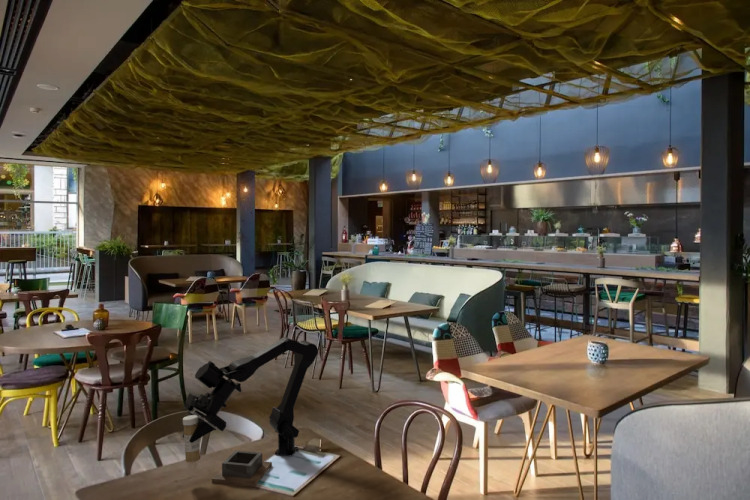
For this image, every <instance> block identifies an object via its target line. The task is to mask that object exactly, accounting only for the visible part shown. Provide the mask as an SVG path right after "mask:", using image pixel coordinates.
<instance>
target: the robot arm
mask: <svg viewBox="0 0 750 500" xmlns="http://www.w3.org/2000/svg"><path fill="white" fill-rule="evenodd" d="M288 351H289V352H293V355H294V356H293V359H294V363H293V367H292V370H291V373H290V376H289V379H288V382H287V384H286V387H285V390H284V393H283V396H282V400H281V402H280V404H279V405H278V406H277V407H275V406H273V407H272V409H271V413H270V415H269V417H268V419H269V425H270V427H271V428H272V430H273V429H274V432H276V433H277V449H276V451H274V455H278V456H288V455H291V456H294V454H295V453H296V452H297V450H298V449H299V446H295V445H296V443H295V441H296V440H295V439H296V438H297V437H298V436H299V433H300V430H299V429H298V428H297V427H295V426H294V419H295V412H294V408H295V405H296V402H297V400H298V396H299V393H300V390H301V388H302V385H303V383H304V379H305V376H306V374H307V370H308V369H309V367H311V366H312V365H313V363H314V362H315V360H316V358H317V356H318V353H319V348H318V347H317V345H316V344H314V343H312V342H310V341H307V340H300V341H298V340H295V339H291V338H289V337H286V336H284V337H281V338H280V339H279V340H277V341H276V342H274V343H272V344H271V345H269V346H267V347H264V348H263V349H261V350H259V351H258V352H256V353H255V354H253V355H251V356H246V357H242V358H241V357H240V358H239V359H236V360H234V361H231V363H230V364H229V365H225V366H223V367H218V366H217V365H216V364H215V363H214V362H212V361H211V360H208V362H207V363H205V364H203V365H202V366H200V367H199V368H198V369H197V370H196V373H195V375H194V378H195V379H196V380H197V381H199V383H201V384H202V385H203V386H205V387H206V388H208V389H212V388H213V389H212V390H211V392H210V393H209V392H206V393H205V394H197V393H193V392H189V393H188V396H187V398H186V399H185V405H183V408H184V409H186V412H187V414H188V415H187V416H190V415H197V416H198V420H199V422H198V427H197V428H196V430H195V432H194V433H193V435H192V436H191V438H190V440H189V442H191V443H193V442H194V441H196V440H198V439H199V440H200V439H201V438H202V437H204V436H206V435H207V434H210V433H211V432H213V431H216V430H219V431H221V432H223V431H225V429H226V428H227V422H226V421H225V419H223V418H221V417H220V416H219V415H218V414H219V412H220V411H221V410H222V408H224V409H225V408H226V407H227V404H226V403H227V401H228V400H229V399H230V397H231V396H232V394H233V393H234V392H235V391H236V392H238V393H241V392H242V388H241V383H243V382H245V381H247V380H248V379H250V378H251V377H252V376H253V375H254V374H255V373H256V371H257V370H258V369H259V368H260V367H263V366H264V365H266V364H268V363H269V362H271V361H272V360H274V359H276V358H278V357H279V356H281V355H282V354H283V355H284V353H286V352H288ZM224 377H225V378H224ZM226 378H227V379H226ZM233 380H234V381H233ZM202 418H203V419H202ZM216 428H217V429H216ZM182 438H183V439H184V433H183V435H182ZM295 451H296V452H295ZM291 456H290V457H291Z"/></svg>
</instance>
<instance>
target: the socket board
mask: <svg viewBox="0 0 750 500" xmlns="http://www.w3.org/2000/svg"><path fill="white" fill-rule="evenodd" d="M272 465H273V462H272V461H265V460H264V461H263V452H257V451H246V450H234V451H233V452H232V453H231V454H230V455H229V456H228V457H227V458H226V459H225V460H224V461H222V463H221V469H220V470H219V471H218V472H217V473H216V474H215V475H214V476H213V477H212V478H211V483H213V484H214V483H215V484H224V485H232V486H233V485H234V486H242V487H243V486H244V487H254V488H255V487H256V485H257V484H258V483H259V480H260V481H261V479H262V478H264V476H265V475H264V474H266V473H267V472H268V471H269V470H270V469H271V468H272ZM269 468H270V469H269ZM268 469H269V470H268Z"/></svg>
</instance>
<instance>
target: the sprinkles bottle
mask: <svg viewBox="0 0 750 500" xmlns="http://www.w3.org/2000/svg"><path fill="white" fill-rule="evenodd" d="M198 422H199V420H198V416H197V415H190V416H189V415H187V416H184V417H183V418H182V425H183V434H184V438H183V441H184V451H185V452H184V453H185V459H184V461H185V462H186V463H195V462H198V461H199V460H200V459H202V457H201V449H200V448H201V447H200V446H201V445H200V444H201V443H200V438H199V439H198V440H196V441H194V442H193V443H191V442H189V440H190V438H191V436H192V435H193V433H194V432H195V430H196V428H197V427H198Z"/></svg>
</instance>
